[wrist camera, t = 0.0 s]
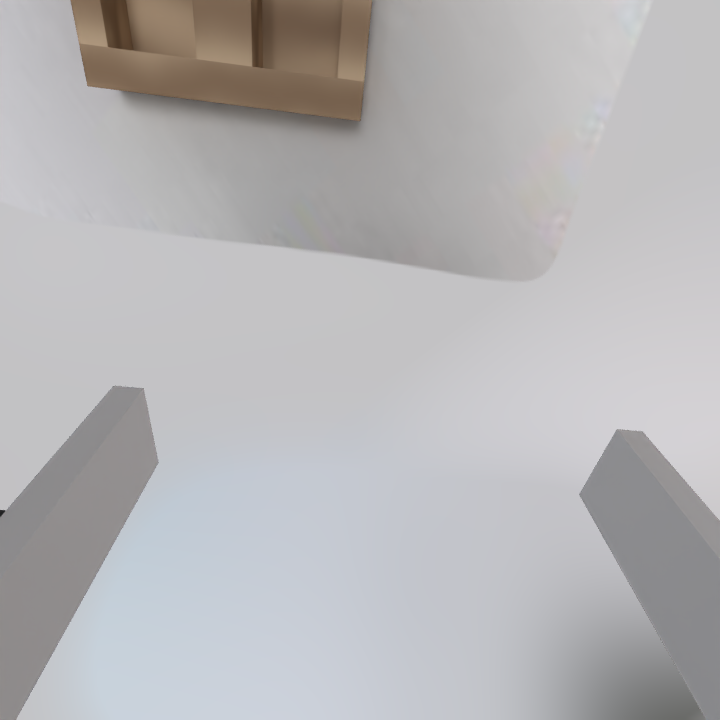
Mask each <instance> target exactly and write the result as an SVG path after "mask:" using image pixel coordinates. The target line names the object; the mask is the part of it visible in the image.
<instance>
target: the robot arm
mask: <svg viewBox="0 0 720 720" xmlns="http://www.w3.org/2000/svg"><path fill="white" fill-rule="evenodd" d="M157 465H158V458H157V452H156V448H155V443H154V438H153V433H152V428H151V423H150V418H149V413H148V408H147V403H146V398H145V393H144V388H134V387H122V386H113V387H112V389H111V390H110V391H109V392H108V393H107V394H106V396H105V397H104V398H103V399H102V400H101V401H100V402H99V404H98V405H97V406H96V407H95V408H94V409H93V410H92V412H91V413H90V414H89V415H88V416H87V417H86V419H85V420H84V421H83V422H82V423H81V424H80V426H79V427H78V428H77V429H76V430H75V431H74V433H73V434H72V435H71V436H70V437H69V438H68V439H67V441H66V442H65V443H64V444H63V445H62V446H61V448H60V449H59V450H58V451H57V452H56V453H55V454H54V456H53V457H52V458H51V459H50V460H49V461H48V463H47V464H46V465H45V466H44V467H43V468H42V470H41V471H40V472H39V473H38V474H37V475H36V476H35V478H34V479H33V480H32V481H31V482H30V483H29V485H28V486H27V487H26V488H25V489H24V490H23V492H22V493H21V494H20V495H19V496H18V497H17V498H16V500H15V501H14V502H13V503H12V504H11V505H10V507H9V508H8V509H7V510H6V511H5V510H0V720H16V718H17V717H18V715H19V713H20V711H21V710H22V708H23V706H24V704H25V702H26V701H27V699H28V697H29V695H30V693H31V692H32V690H33V688H34V686H35V684H36V682H37V680H38V679H39V677H40V675H41V673H42V672H43V670H44V668H45V666H46V665H47V663H48V661H49V659H50V657H51V656H52V654H53V652H54V650H55V648H56V647H57V645H58V643H59V641H60V639H61V638H62V636H63V634H64V632H65V630H66V629H67V627H68V625H69V623H70V621H71V619H72V618H73V616H74V614H75V612H76V610H77V609H78V607H79V605H80V603H81V601H82V600H83V598H84V596H85V594H86V592H87V591H88V589H89V587H90V585H91V583H92V582H93V580H94V578H95V576H96V574H97V573H98V571H99V569H100V567H101V565H102V564H103V562H104V560H105V558H106V556H107V555H108V553H109V551H110V549H111V547H112V545H113V544H114V542H115V540H116V538H117V537H118V535H119V533H120V531H121V529H122V528H123V526H124V524H125V522H126V520H127V518H128V517H129V515H130V513H131V511H132V510H133V508H134V506H135V504H136V502H137V501H138V499H139V497H140V495H141V493H142V492H143V489H144V488H145V486H146V484H147V482H148V480H149V479H150V477H151V475H152V473H153V472H154V470H155V468H156V466H157ZM579 495H580V497H581V498H582V500H583V502H584V504H585V506H586V508H587V509H588V511H589V513H590V515H591V516H592V518H593V520H594V522H595V523H596V525H597V527H598V529H599V531H600V532H601V534H602V536H603V538H604V540H605V541H606V543H607V545H608V546H609V548H610V550H611V552H612V554H613V555H614V557H615V559H616V561H617V563H618V564H619V566H620V568H621V570H622V571H623V573H624V575H625V577H626V578H627V580H628V582H629V584H630V586H631V587H632V589H633V591H634V593H635V594H636V596H637V598H638V600H639V602H640V603H641V605H642V607H643V609H644V611H645V612H646V614H647V616H648V618H649V619H650V621H651V623H652V625H653V627H654V628H655V630H656V632H657V634H658V635H659V637H660V639H661V640H662V643H663V644H664V646H665V648H666V650H667V651H668V653H669V655H670V657H671V658H672V660H673V662H674V664H675V666H676V667H677V669H678V671H679V673H680V674H681V676H682V678H683V680H684V681H685V683H686V685H687V687H688V689H689V690H690V692H691V694H692V696H693V698H694V699H695V701H696V703H697V705H698V706H699V708H700V710H701V712H702V713H703V715H704V717H705V719H706V720H720V521H719V519H718V518H717V517H716V516H715V515H714V514H713V513H712V511H711V510H710V509H709V508H708V507H707V506H706V504H705V503H704V502H703V501H702V500H701V499H700V497H699V496H698V495H697V494H696V493H695V492H694V491H693V489H692V488H691V487H690V486H689V485H688V484H687V482H686V481H685V480H684V479H683V478H682V477H681V476H680V474H679V473H678V472H677V471H676V470H675V469H674V467H673V466H672V465H671V464H670V463H669V462H668V461H667V459H666V458H665V457H664V456H663V455H662V454H661V452H660V451H659V450H658V449H657V448H656V447H655V446H654V445H653V443H652V442H651V441H650V440H649V438H648V437H647V436H646V435H645V434H644V433H643V432H642V431H629V430H618V429H617V430H616V432H615V434H614V435H613V437H612V439H611V441H610V442H609V444H608V446H607V447H606V449H605V451H604V453H603V454H602V456H601V458H600V459H599V461H598V463H597V465H596V466H595V468H594V470H593V472H592V473H591V475H590V477H589V478H588V480H587V482H586V484H585V485H584V487H583V489H582V491H581V493H580V494H579Z"/></svg>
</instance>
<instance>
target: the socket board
mask: <svg viewBox="0 0 720 720" xmlns="http://www.w3.org/2000/svg"><path fill="white" fill-rule="evenodd" d="M71 5H72V10H73V15H74V20H75V25H76V30H77V35H78V40H79V45H80V51H81V56H82V61H83V66H84V71H85V76H86V81H87V86H91V87H98V88H106V89H114V90H122V91H130V92H137V93H145V94H153V95H161V96H168V97H176V98H184V99H192V100H200V101H207V102H215V103H223V104H231V105H238V106H246V107H254V108H262V109H270V110H277V111H285V112H293V113H301V114H308V115H316V116H324V117H332V118H340V119H347V120H355V121H360V120H361V109H362V99H363V89H364V78H365V68H366V58H367V48H368V37H369V27H370V17H371V6H372V0H71Z"/></svg>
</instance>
